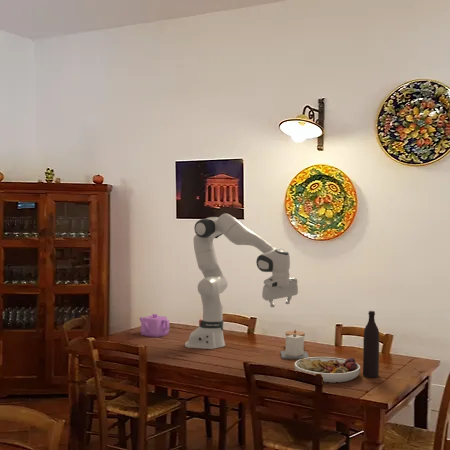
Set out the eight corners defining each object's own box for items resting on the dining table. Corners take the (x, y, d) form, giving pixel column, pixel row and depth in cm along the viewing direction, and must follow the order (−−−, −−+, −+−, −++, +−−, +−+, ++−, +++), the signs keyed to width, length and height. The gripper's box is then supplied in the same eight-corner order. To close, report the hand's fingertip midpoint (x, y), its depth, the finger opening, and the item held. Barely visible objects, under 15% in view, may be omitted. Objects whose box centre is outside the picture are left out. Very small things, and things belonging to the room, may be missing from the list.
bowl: (310, 387, 263) (310, 369, 262) (284, 369, 292) (285, 352, 291) (372, 382, 271) (372, 364, 270) (341, 365, 300) (342, 349, 299)
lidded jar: (298, 349, 330) (298, 332, 330) (281, 347, 336) (281, 330, 336) (308, 346, 338) (308, 329, 338) (291, 343, 345) (291, 327, 345)
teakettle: (170, 336, 361) (170, 316, 360) (142, 338, 357) (142, 317, 356) (166, 331, 377) (166, 311, 377) (139, 332, 373) (139, 312, 373)
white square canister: (295, 356, 312) (295, 336, 311) (285, 354, 317) (285, 334, 316) (303, 354, 316) (303, 334, 316) (293, 352, 321) (293, 332, 321)
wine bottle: (376, 373, 283) (377, 310, 282) (380, 378, 276) (381, 312, 275) (361, 373, 283) (362, 310, 282) (365, 378, 276) (366, 312, 275)
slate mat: (282, 358, 310) (282, 353, 310) (280, 352, 324) (280, 346, 324) (309, 359, 309) (309, 353, 309) (306, 352, 323) (306, 347, 323)
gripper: (293, 275, 321) (292, 300, 324) (261, 281, 311) (260, 306, 315) (300, 278, 315) (299, 303, 319) (267, 284, 306) (266, 310, 309)
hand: (280, 305), depth 317 cm, fingers open, 8 cm apart
